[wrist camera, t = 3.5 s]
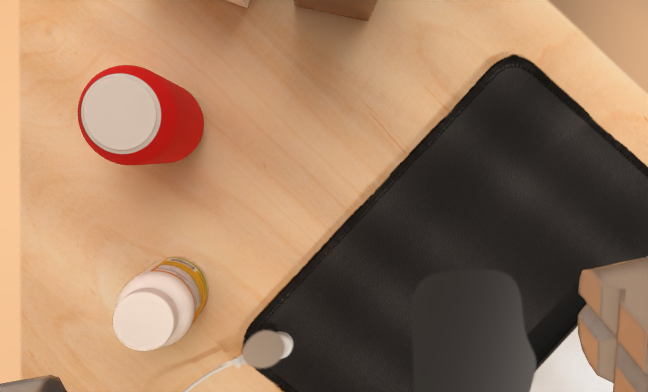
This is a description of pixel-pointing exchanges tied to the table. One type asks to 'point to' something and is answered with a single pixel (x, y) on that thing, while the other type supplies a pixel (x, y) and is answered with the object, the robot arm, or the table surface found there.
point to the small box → (240, 2)
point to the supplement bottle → (160, 304)
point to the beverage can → (139, 117)
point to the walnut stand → (341, 7)
